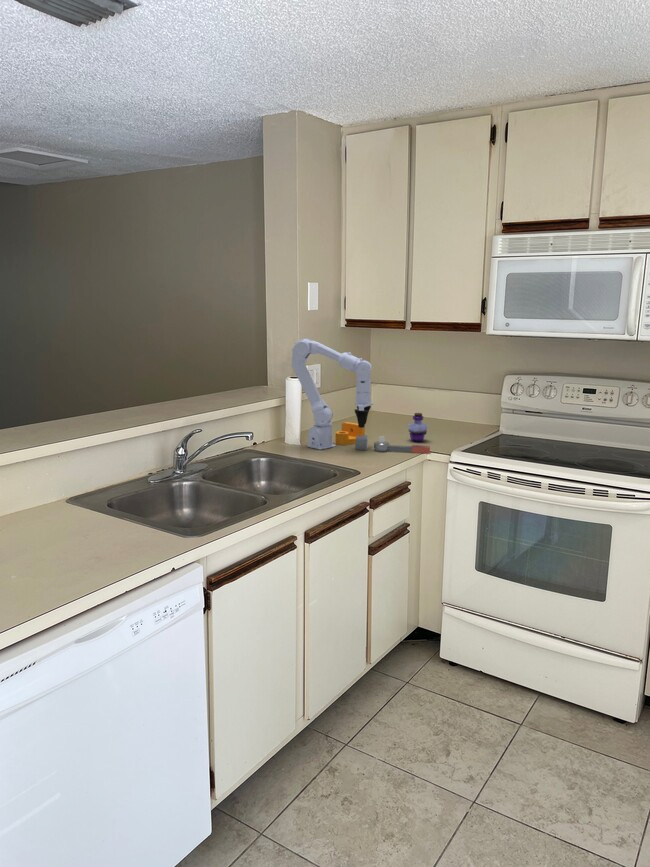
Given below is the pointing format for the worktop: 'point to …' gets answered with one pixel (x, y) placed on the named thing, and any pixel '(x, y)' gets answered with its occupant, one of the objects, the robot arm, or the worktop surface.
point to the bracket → (348, 433)
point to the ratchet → (399, 447)
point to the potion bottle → (417, 428)
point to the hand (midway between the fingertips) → (362, 425)
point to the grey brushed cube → (361, 442)
